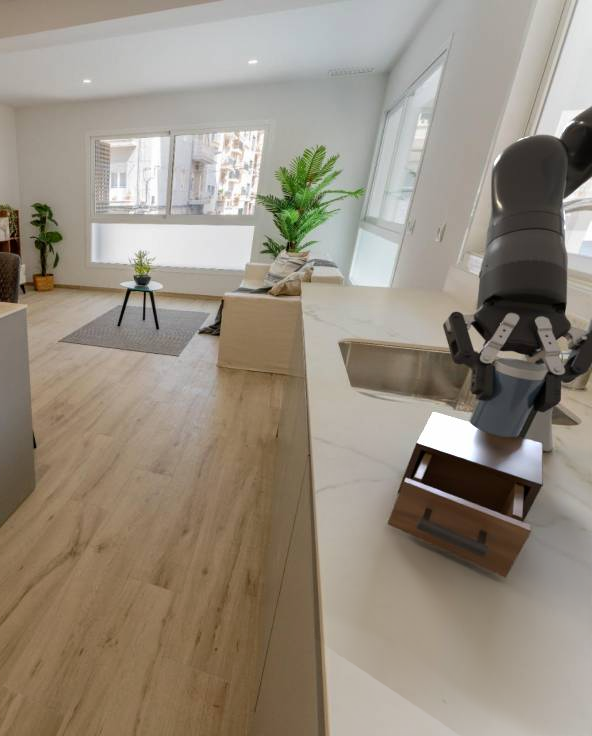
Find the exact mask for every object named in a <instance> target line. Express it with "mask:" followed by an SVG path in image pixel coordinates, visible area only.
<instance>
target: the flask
mask: <svg viewBox="0 0 592 736" xmlns="http://www.w3.org/2000/svg"><path fill="white" fill-rule="evenodd" d="M553 410H554V407H552V408H551V409H549V410H547V411H545V412H539V411H538V412H537V414H536V416H535V418H534V420H533V422H532V424H531V426H530V428H529V430H528V432H527V434H526V436H525V439H529V440H532V441H536V442H539V443H542V450H543V452H550V451H551V450H552V448H553V446H554V444H553V443H554V442H553Z"/></svg>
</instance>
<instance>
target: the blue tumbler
mask: <svg viewBox="0 0 592 736" xmlns="http://www.w3.org/2000/svg"><path fill="white" fill-rule="evenodd" d="M518 359H519V358H518ZM518 359H517V358H510V357H509V358H508V357H499V358H496V359H495V361H494V364H493V366H495V369H494V381H493V392H492V395H491V397H489V398H488V399H487V400H485V401H482V400H477V401H476V403H475V406H474V408H473V410H472V413H471V415H470V418H469V420H468V422H470V424H471V425H473V426H474V427H476V428H478V429H480V430H482V431H484V432H487V433H490V434H494V435H498V436H503V437H517V436H518V435H519V433H520V431H521V429H522V427H523V425H524V423H525V421H526V419H527V417H528V415H529V412H530V410H531V408H532V406H533V404H534V402H535V400H536V398H537V396H538V394H539V392H540V390H541V388H542V386H543V384H544V382H545V377H546V374H547V372H548V369H547V368H545V367H543V366H541V365H538V364H535V363H531V362H528V361H523V360H518Z"/></svg>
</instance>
